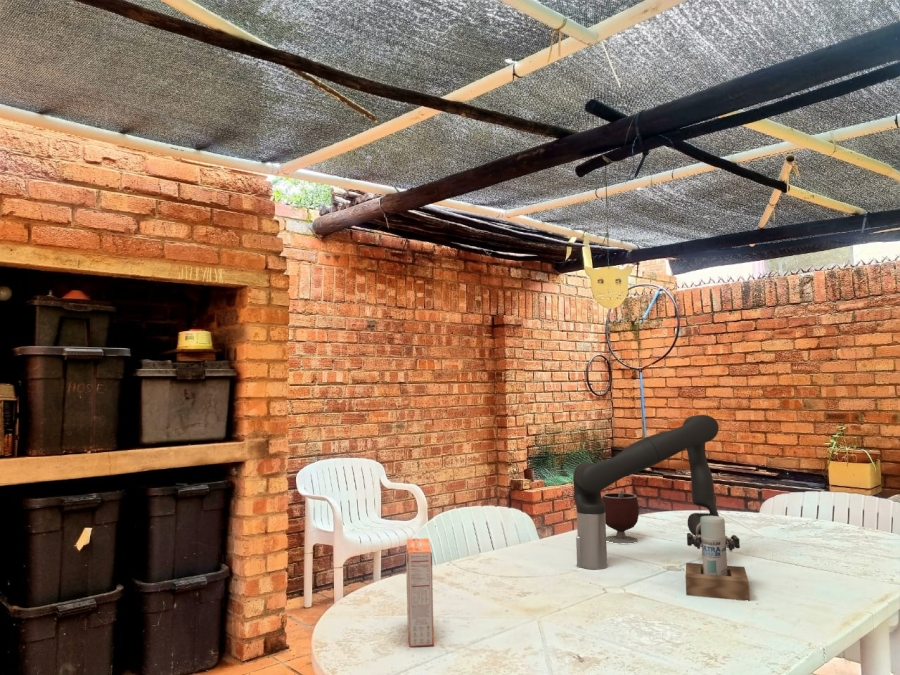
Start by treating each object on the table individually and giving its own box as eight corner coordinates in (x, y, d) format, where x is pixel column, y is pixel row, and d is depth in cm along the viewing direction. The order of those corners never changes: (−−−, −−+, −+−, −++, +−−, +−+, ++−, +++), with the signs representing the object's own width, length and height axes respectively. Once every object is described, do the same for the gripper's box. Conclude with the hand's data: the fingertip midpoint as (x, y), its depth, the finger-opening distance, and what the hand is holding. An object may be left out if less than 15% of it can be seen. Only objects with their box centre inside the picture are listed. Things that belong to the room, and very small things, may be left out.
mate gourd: (600, 536, 253) (599, 485, 255) (637, 537, 251) (635, 485, 253) (604, 545, 238) (602, 490, 240) (643, 546, 236) (641, 491, 238)
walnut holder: (686, 595, 177) (685, 576, 178) (686, 579, 192) (686, 562, 193) (749, 600, 172) (748, 581, 172) (745, 584, 187) (744, 566, 187)
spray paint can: (700, 589, 182) (696, 518, 184) (709, 584, 187) (705, 514, 189) (723, 594, 178) (719, 520, 180) (732, 588, 182) (727, 517, 184)
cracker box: (406, 625, 156) (405, 538, 158) (430, 624, 157) (430, 537, 159) (407, 648, 142) (406, 551, 144) (434, 646, 143) (433, 550, 145)
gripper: (684, 520, 199) (687, 531, 184) (733, 522, 195) (741, 533, 180) (685, 545, 199) (688, 558, 183) (735, 548, 195) (743, 561, 179)
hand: (714, 546), depth 181 cm, fingers open, 8 cm apart
